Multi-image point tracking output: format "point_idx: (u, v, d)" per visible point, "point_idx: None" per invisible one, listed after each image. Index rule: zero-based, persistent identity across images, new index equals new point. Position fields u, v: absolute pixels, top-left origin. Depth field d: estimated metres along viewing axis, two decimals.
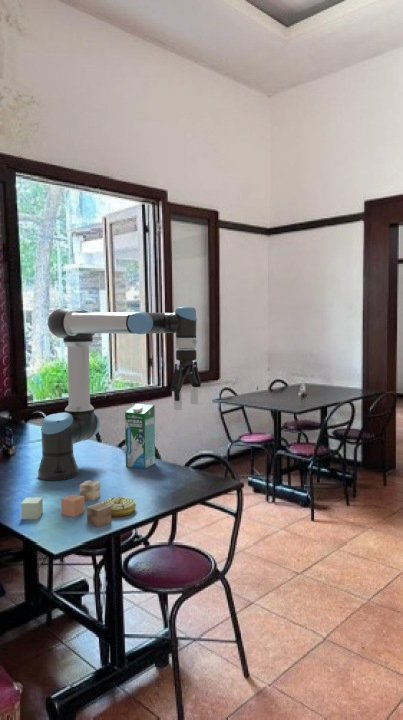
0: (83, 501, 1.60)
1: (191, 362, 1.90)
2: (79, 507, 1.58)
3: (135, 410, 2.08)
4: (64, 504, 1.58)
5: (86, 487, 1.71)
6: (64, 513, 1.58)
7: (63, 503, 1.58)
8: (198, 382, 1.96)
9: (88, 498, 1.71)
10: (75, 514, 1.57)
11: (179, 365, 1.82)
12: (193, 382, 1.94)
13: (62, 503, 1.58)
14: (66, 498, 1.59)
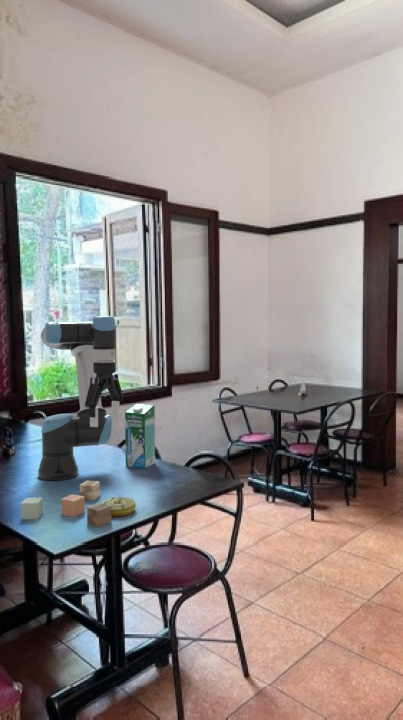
0: (83, 501, 1.60)
1: (110, 375, 1.77)
2: (79, 507, 1.58)
3: (135, 410, 2.08)
4: (64, 504, 1.58)
5: (86, 487, 1.71)
6: (64, 513, 1.58)
7: (63, 503, 1.58)
8: (120, 396, 1.84)
9: (88, 498, 1.71)
10: (75, 514, 1.57)
11: (94, 379, 1.69)
12: (114, 396, 1.81)
13: (62, 503, 1.58)
14: (66, 498, 1.59)
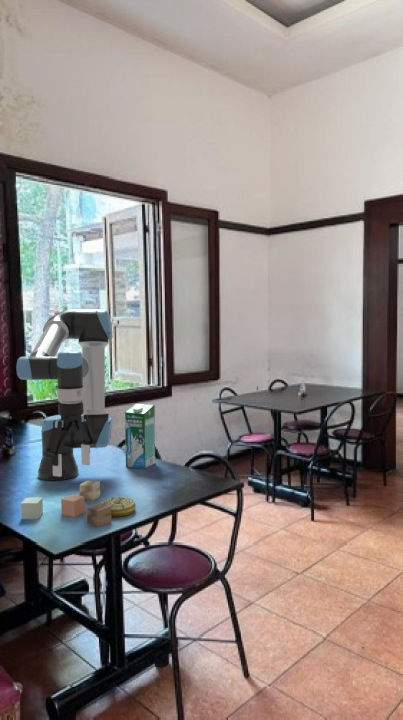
0: (83, 501, 1.60)
1: (78, 416, 1.59)
2: (79, 507, 1.58)
3: (135, 410, 2.08)
4: (64, 504, 1.58)
5: (86, 487, 1.71)
6: (64, 513, 1.58)
7: (63, 503, 1.58)
8: (91, 438, 1.65)
9: (88, 498, 1.71)
10: (75, 514, 1.57)
11: (58, 423, 1.51)
12: (83, 439, 1.63)
13: (62, 503, 1.58)
14: (66, 498, 1.59)
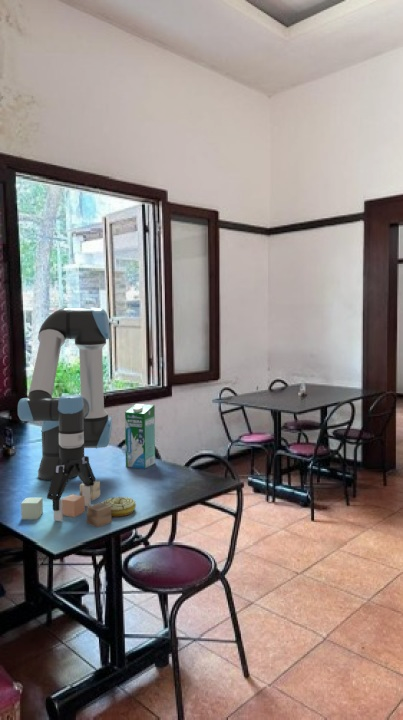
0: (83, 501, 1.60)
1: (79, 460, 1.60)
2: (79, 507, 1.58)
3: (135, 410, 2.08)
4: (64, 504, 1.58)
5: None
6: (64, 513, 1.58)
7: (63, 503, 1.58)
8: (91, 479, 1.66)
9: None
10: (75, 514, 1.57)
11: (59, 468, 1.52)
12: (84, 481, 1.64)
13: (62, 503, 1.58)
14: (66, 498, 1.59)
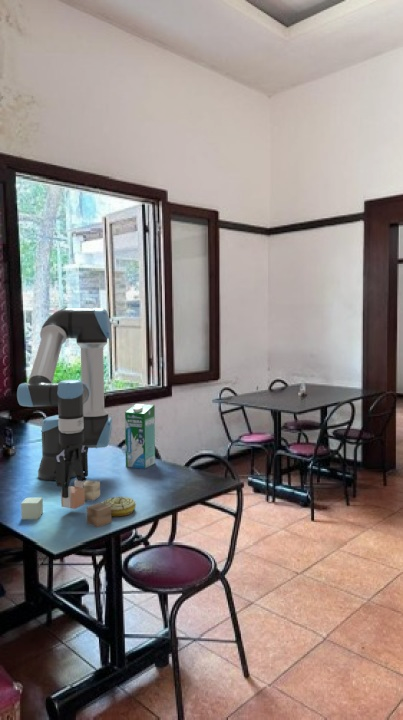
0: (83, 493, 1.60)
1: (79, 443, 1.60)
2: (79, 499, 1.59)
3: (135, 410, 2.08)
4: None
5: (86, 487, 1.71)
6: None
7: None
8: (84, 474, 1.63)
9: (88, 498, 1.71)
10: (75, 506, 1.57)
11: (59, 458, 1.52)
12: (78, 473, 1.61)
13: None
14: None
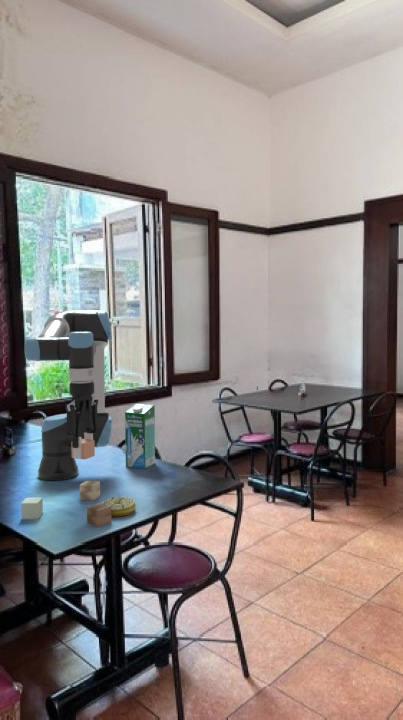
0: (93, 445, 1.61)
1: (90, 395, 1.61)
2: (89, 450, 1.59)
3: (135, 410, 2.08)
4: None
5: (86, 487, 1.71)
6: None
7: None
8: (94, 427, 1.64)
9: (88, 498, 1.71)
10: (85, 456, 1.57)
11: (70, 407, 1.53)
12: (88, 425, 1.62)
13: None
14: None
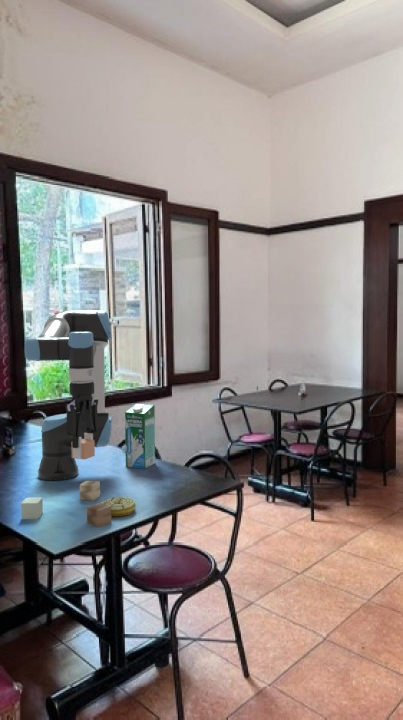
0: (93, 445, 1.61)
1: (90, 395, 1.61)
2: (89, 450, 1.59)
3: (135, 410, 2.08)
4: None
5: (86, 487, 1.71)
6: None
7: None
8: (94, 427, 1.64)
9: (88, 498, 1.71)
10: (85, 456, 1.57)
11: (70, 407, 1.53)
12: (88, 425, 1.62)
13: None
14: None
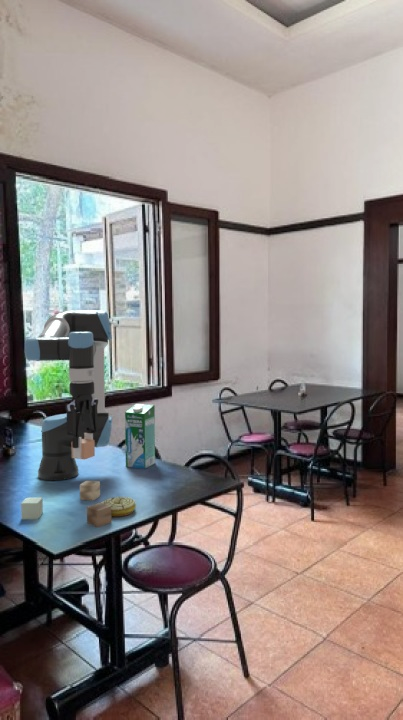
0: (93, 445, 1.61)
1: (90, 395, 1.61)
2: (89, 450, 1.59)
3: (135, 410, 2.08)
4: None
5: (86, 487, 1.71)
6: None
7: None
8: (94, 427, 1.64)
9: (88, 498, 1.71)
10: (85, 456, 1.57)
11: (70, 407, 1.53)
12: (88, 425, 1.62)
13: None
14: None
